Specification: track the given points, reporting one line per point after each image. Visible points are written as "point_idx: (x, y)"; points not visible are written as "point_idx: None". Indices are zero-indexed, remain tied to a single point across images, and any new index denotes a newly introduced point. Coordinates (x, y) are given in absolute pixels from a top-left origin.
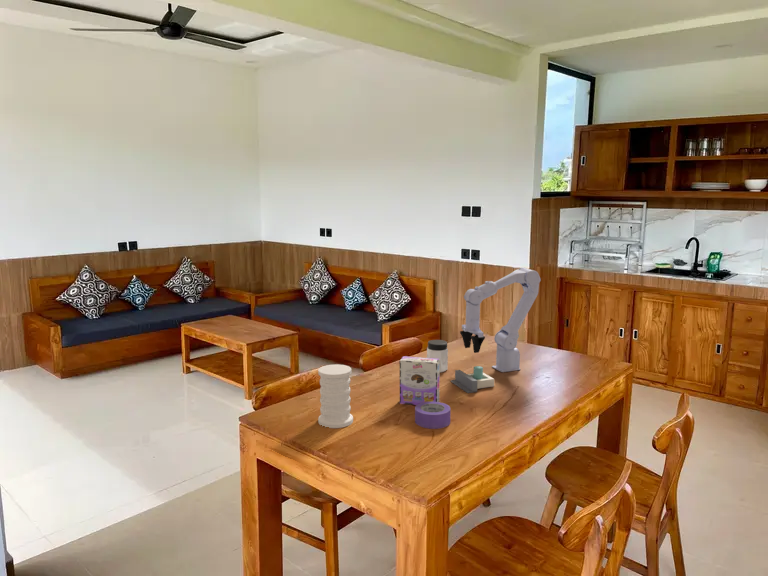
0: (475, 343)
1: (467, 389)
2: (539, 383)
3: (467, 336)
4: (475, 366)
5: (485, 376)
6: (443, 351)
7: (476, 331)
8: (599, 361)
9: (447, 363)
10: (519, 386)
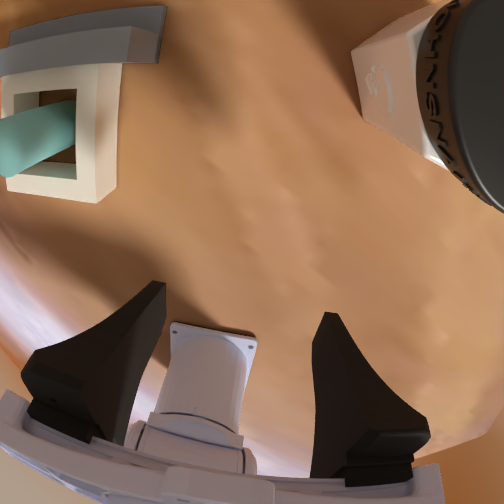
0: (85, 337)
1: (25, 38)
2: (45, 325)
3: (332, 420)
4: (21, 143)
5: (40, 175)
6: (409, 76)
7: (46, 469)
8: None
9: (375, 124)
10: (25, 261)
